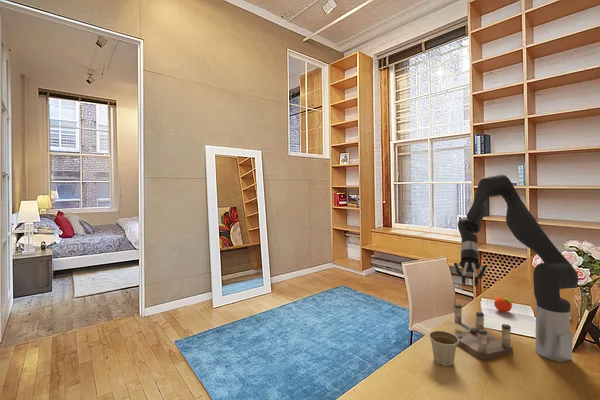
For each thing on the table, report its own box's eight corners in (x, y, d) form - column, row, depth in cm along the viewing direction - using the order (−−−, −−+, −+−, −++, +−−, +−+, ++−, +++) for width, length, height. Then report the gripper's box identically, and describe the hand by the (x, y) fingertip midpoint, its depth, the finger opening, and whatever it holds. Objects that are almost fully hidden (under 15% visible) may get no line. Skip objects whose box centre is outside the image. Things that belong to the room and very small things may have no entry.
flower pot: (446, 373, 98) (447, 347, 97) (423, 358, 106) (423, 334, 106) (464, 364, 102) (465, 339, 102) (440, 350, 111) (440, 328, 110)
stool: (512, 352, 108) (513, 327, 108) (482, 360, 104) (482, 333, 104) (478, 334, 122) (479, 311, 121) (450, 340, 118) (450, 316, 117)
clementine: (517, 314, 139) (518, 299, 138) (507, 316, 136) (507, 301, 136) (500, 307, 146) (501, 293, 146) (490, 310, 144) (490, 295, 143)
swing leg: (478, 332, 118) (479, 313, 118) (473, 333, 117) (473, 314, 117) (457, 321, 128) (458, 303, 128) (452, 322, 127) (453, 304, 127)
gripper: (453, 247, 147) (452, 278, 137) (487, 249, 140) (488, 283, 130) (453, 255, 152) (452, 286, 142) (486, 258, 145) (487, 291, 135)
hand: (469, 284), depth 136 cm, fingers open, 3 cm apart
